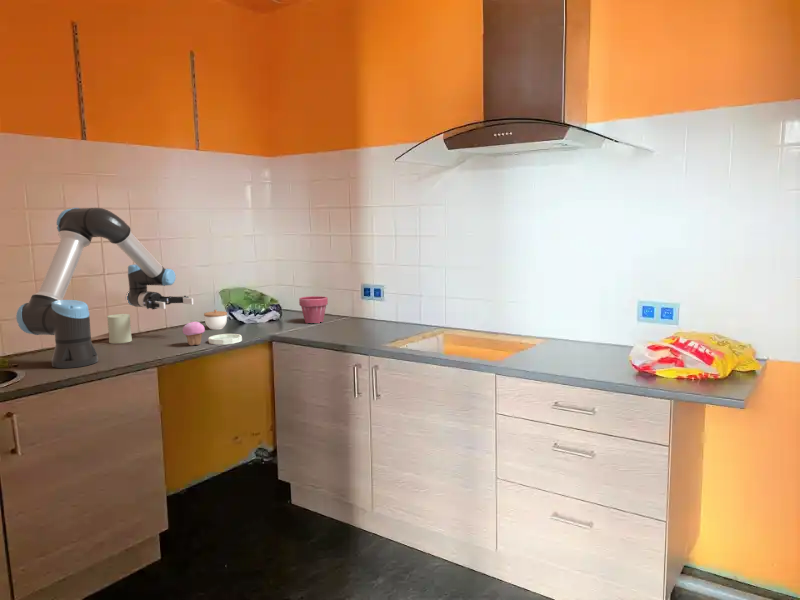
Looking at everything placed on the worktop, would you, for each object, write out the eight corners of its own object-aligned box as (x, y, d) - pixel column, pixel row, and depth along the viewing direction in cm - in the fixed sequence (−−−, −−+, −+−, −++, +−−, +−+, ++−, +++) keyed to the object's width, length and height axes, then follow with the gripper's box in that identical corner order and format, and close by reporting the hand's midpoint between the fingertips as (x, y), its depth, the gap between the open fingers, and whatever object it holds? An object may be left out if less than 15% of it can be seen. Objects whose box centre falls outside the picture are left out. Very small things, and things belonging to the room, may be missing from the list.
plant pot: (318, 319, 316) (318, 295, 314) (333, 322, 305) (332, 297, 303) (295, 322, 307) (294, 297, 305) (309, 325, 296) (308, 300, 294)
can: (123, 343, 258) (121, 316, 257) (104, 343, 260) (102, 316, 259) (136, 339, 267) (134, 313, 266) (118, 339, 269) (116, 312, 268)
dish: (222, 345, 251) (222, 341, 251) (202, 342, 259) (202, 337, 259) (248, 340, 262) (247, 335, 262) (228, 337, 270) (227, 332, 270)
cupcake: (204, 342, 260) (202, 319, 258) (206, 345, 252) (205, 322, 250) (182, 344, 256) (180, 321, 254) (184, 347, 248) (183, 324, 247)
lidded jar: (217, 331, 285) (216, 311, 284) (200, 329, 290) (198, 310, 289) (232, 327, 295) (231, 308, 294) (215, 326, 299) (214, 307, 298)
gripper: (176, 304, 280) (204, 308, 268) (125, 312, 261) (152, 316, 248) (174, 288, 279) (203, 291, 267) (123, 295, 259) (151, 298, 247)
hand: (178, 303), depth 258 cm, fingers open, 13 cm apart
